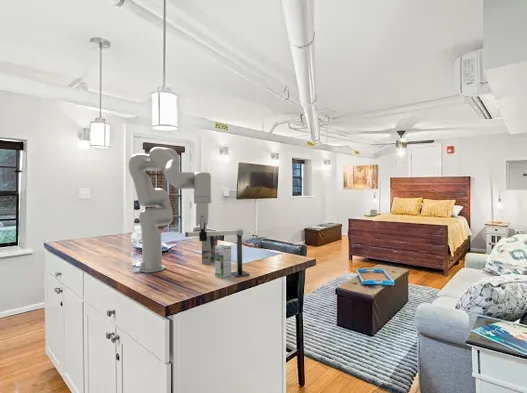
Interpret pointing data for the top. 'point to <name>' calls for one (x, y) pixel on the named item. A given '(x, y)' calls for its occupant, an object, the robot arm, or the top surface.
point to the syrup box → (222, 261)
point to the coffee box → (209, 250)
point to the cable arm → (216, 233)
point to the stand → (239, 260)
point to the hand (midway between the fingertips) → (203, 240)
